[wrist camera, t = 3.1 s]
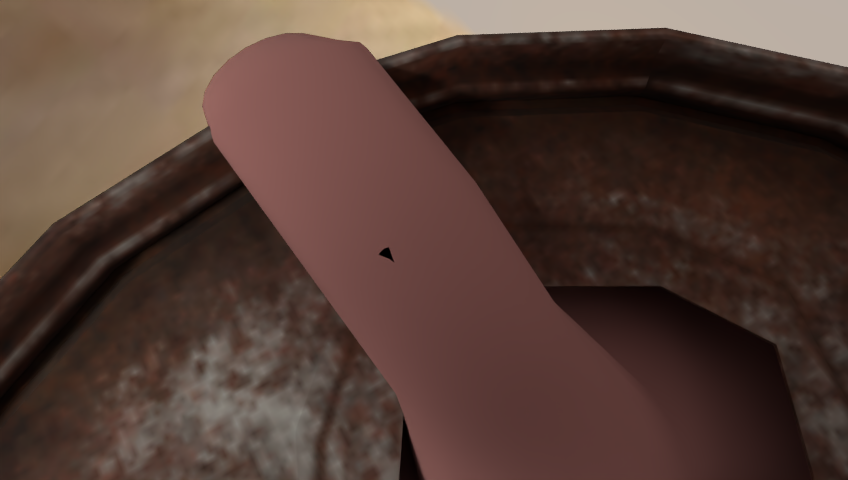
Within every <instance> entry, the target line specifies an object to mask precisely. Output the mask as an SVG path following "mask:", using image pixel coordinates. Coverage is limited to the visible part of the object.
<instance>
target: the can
mask: <svg viewBox="0 0 848 480" xmlns="http://www.w3.org/2000/svg"><path fill="white" fill-rule="evenodd" d="M202 107H203V110H204V113H205V116H206V120H207V123H208V127H206V128H205V129H203V130H202V131H200V132H199V133H197V134H195V135H194V136H192V137H191V138H189V139H187V140H186V141H184V142H183V143H181V144H179V145H178V146H176V147H175V148H173V149H171V150H170V151H168V152H167V153H165V154H163V155H162V156H160V157H159V158H157V159H155V160H154V161H152V162H151V163H149V164H147V165H146V166H144V167H143V168H141V169H140V170H138V171H136V172H135V173H133V174H132V175H130V176H128V177H127V178H125V179H124V180H122V181H120V182H119V183H117V184H116V185H114V186H112V187H111V188H109V189H108V190H106V191H104V192H103V193H101V194H100V195H98V196H96V197H95V198H93V199H92V200H90V201H88V202H87V203H85V204H84V205H82V206H81V207H79V208H77V209H76V210H74V211H73V212H71V213H69V214H68V215H66V216H65V217H63V218H61V219H60V220H58V221H57V222H55V223H53V224H52V225H51V227H50V228H49V229H48V230H47V231H46V232H45V233H44V234H43V235H42V236H41V237H40V238H39V239H38V240H37V241H36V242H35V243H34V244H33V245H32V247H31V248H30V249H29V250H28V251H27V252H26V253H25V254H24V255H23V256H22V257H21V258H20V259H19V260H18V261H17V262H16V263H15V264H14V265H13V267H12V268H11V269H10V270H9V271H8V272H7V273H6V274H5V275H4V276H3V277H2V278H1V279H0V480H848V67H843V66H839V65H834V64H830V63H825V62H820V61H815V60H811V59H807V58H802V57H797V56H793V55H788V54H784V53H778V52H774V51H769V50H765V49H760V48H756V47H751V46H747V45H742V44H738V43H733V42H728V41H723V40H719V39H714V38H710V37H705V36H701V35H696V34H691V33H687V32H682V31H678V30H673V29H668V28H651V29H624V30H623V29H622V30H594V31H566V32H537V33H510V34H480V35H457V36H454V37H450V38H447V39H444V40H441V41H437V42H434V43H431V44H427V45H424V46H421V47H418V48H414V49H411V50H408V51H405V52H401V53H398V54H395V55H392V56H388V57H385V58H382V59H379V60H376V59H375V57H374V56H373V55H372V54H371V52H370V51H369V50H368V49H367V48H366V47H365V46H364V45H362V44H361V43H360V42H351V41H341V40H335V39H330V38H325V37H319V36H314V35H309V34H304V33H285V34H281V35H277V36H273V37H269V38H265V39H263V40H261V41H259V42H257V43H255V44H252V45H250V46H248V47H246V48H245V49H243V50H242V51H240V52H239V53H238V54H236V55H235V56H233V57H232V58H231V59H229V60H228V61H227V62H226V63H225V64H224V65H223V66H222V67H221V68H220V69H219V70H218V72H217V73H216V74H215V75H214V76H213V78H212V80H211V81H210V83H209V85H208V87H207V89H206V90H205V93H204V99H203V105H202Z"/></svg>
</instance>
